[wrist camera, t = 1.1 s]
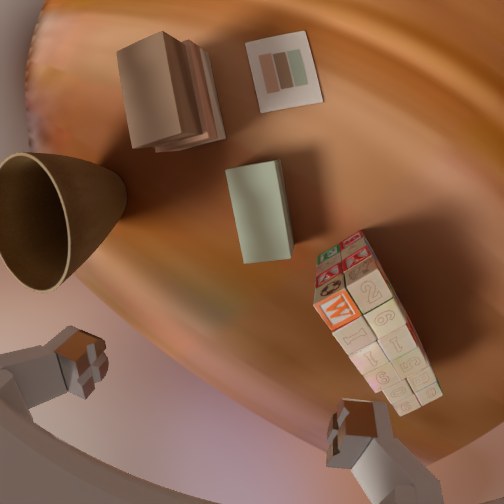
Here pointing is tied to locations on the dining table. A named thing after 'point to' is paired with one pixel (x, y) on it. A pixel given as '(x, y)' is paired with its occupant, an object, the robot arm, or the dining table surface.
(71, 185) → the plant pot
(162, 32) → the brick walnut
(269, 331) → the dining table surface
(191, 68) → the base brick
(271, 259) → the brick sage
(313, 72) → the page
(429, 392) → the stack of blocks
